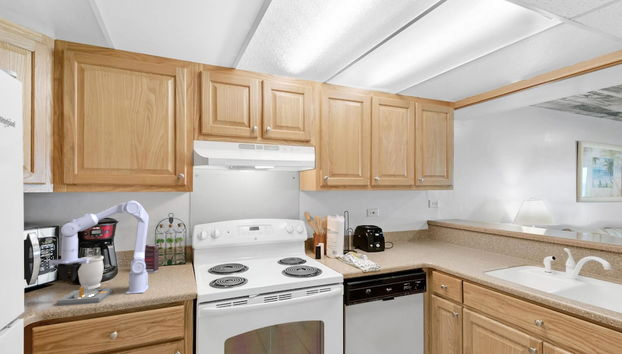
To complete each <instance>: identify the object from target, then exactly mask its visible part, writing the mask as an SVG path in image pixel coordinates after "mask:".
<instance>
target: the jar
mask: <svg viewBox="0 0 622 354" xmlns="http://www.w3.org/2000/svg"><path fill="white" fill-rule="evenodd" d="M82 258H85V259H87V258H89V263H87V264H82V265H81V267H80V268H79V270H78V272H77V275H78V281H79V284H80V285H81V286H80V287H82V286H84V285H88V289H99V288H100V287H101V286H102V284H101V282H102V279H103V273H104V270H105V269H104V261H103V260H104V258H105V257H104V255H88V256H84V257H83V256H82Z"/></svg>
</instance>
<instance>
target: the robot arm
mask: <svg viewBox="0 0 622 354" xmlns="http://www.w3.org/2000/svg"><path fill="white" fill-rule="evenodd" d="M125 213H127V214H129V215H131V216H133V217H134V218H135V219H136V220H137V227H136V232H135V233H136V234H135V241H134V242H135V243H134V251H133V255H132V259H131V260H130V263H129V266H130V271H129V272H128V278H129V279H128V290H127V291H126V292H125V295H129V294H143V293H146V291H147V290H148V289H149V288H150V287H151V285H149V273H147V272H146V269H145V268H146V264H145V261H144V259H145V246H146V245H147V236H148V228H149V220H150V216H149V214H148V212H147V211H146V210H145V209H144V207H143V205H142V204H141V203H139V202H138V201H136V200H133V199H132V200H129V201H127V202H126V201H124V202H121V203H118V204H115V205H113V206H112V207H109V208H107V209H104V210H102V211H100V212H98V213H95V214H94V213H84V214H83V216H81V217H79V218H77V219H72V220H71V221H69V222H67V223H65V224H64V225H62V226H61V228H60V232H61V234H62V235H61V248H60V249H61V251H60V252H61V255H60V257H61V258H60V259H51V260H49V261H48V266H56V268H55V269H56V270H57V271H58V272H59V274H60V277H61V280H62V282H64V283H65V282H67V281H68V279H69V273H70V282H74V281H75V280H76V278H77V275H78V270H79V268H80V267H81V265H82V264H87V263H89V258H87V259H85V258H83V257H80V258H79V237H78V235H79V234H78V232H83V231H86V230H87V229H90V228H92V227H94V226H96V225H98V224H99V221H102V220H103V219H106V218H108V217H111V216H113V215H115V214H125ZM69 270H70V272H69Z"/></svg>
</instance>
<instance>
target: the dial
mask: <svg viewBox="0 0 622 354" xmlns="http://www.w3.org/2000/svg"><path fill="white" fill-rule="evenodd" d="M81 286H82V285H81ZM81 286H80V287H79V289H78V290H79V293H77V294H75V295H74V298H90V297H94V296H96V295H97V294H99V291H98V290H88V285H84V286H82V287H81Z"/></svg>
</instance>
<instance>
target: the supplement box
mask: <svg viewBox="0 0 622 354" xmlns="http://www.w3.org/2000/svg"><path fill="white" fill-rule="evenodd" d="M159 247H160V245H159V244H146V246H145V259H144V261H145V264H146V268H145V269H146V272H147V273H148V274H155V273H158V272H159V269H160V268H159V263H160V260H159V257H160V251H159Z"/></svg>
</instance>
